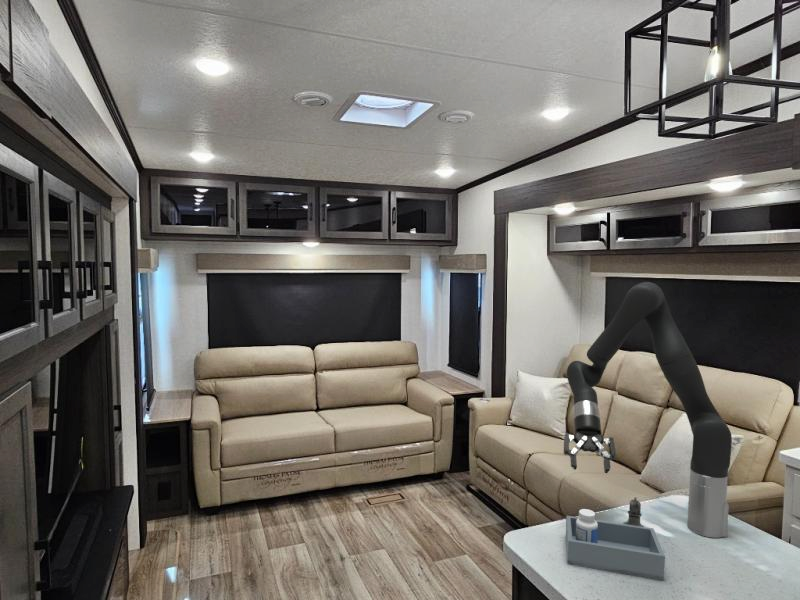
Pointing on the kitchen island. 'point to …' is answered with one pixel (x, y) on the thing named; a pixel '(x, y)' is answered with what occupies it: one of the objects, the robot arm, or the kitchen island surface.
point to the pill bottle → (586, 526)
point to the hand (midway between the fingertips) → (590, 470)
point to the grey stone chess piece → (634, 513)
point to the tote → (617, 549)
